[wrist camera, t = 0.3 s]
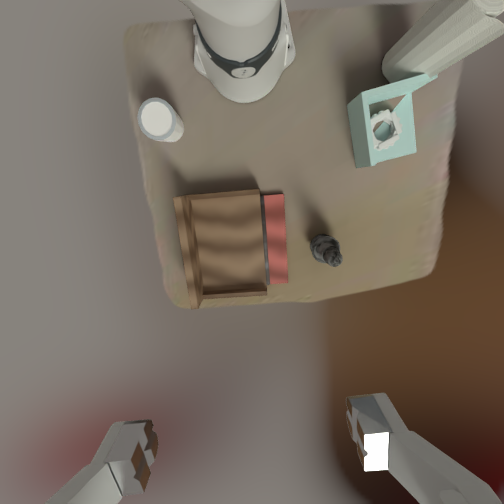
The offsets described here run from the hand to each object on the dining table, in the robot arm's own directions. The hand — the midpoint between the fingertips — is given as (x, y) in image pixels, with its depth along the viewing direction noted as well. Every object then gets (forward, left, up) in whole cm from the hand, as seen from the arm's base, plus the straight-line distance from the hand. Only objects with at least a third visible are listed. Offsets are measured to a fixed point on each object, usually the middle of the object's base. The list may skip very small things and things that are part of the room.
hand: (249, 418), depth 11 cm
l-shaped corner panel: (-17, +26, -48) cm, 57 cm away
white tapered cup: (-21, -16, -48) cm, 55 cm away
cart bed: (+4, -5, -48) cm, 48 cm away
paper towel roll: (-27, +28, -48) cm, 62 cm away
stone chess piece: (+6, +14, -48) cm, 50 cm away
